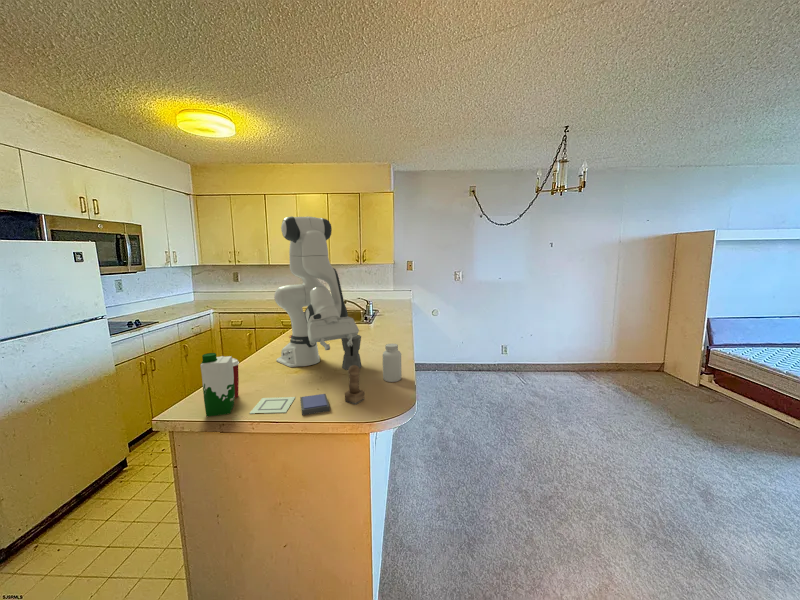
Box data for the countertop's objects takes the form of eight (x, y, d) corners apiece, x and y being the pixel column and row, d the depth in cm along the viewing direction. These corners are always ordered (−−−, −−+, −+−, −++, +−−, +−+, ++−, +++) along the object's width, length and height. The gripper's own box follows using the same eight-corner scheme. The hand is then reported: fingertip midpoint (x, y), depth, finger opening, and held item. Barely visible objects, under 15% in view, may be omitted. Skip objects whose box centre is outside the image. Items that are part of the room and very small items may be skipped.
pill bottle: (379, 379, 141) (378, 345, 139) (392, 374, 147) (391, 341, 145) (392, 384, 135) (392, 348, 133) (405, 378, 141) (405, 344, 139)
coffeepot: (342, 363, 162) (341, 327, 160) (361, 362, 163) (360, 327, 161) (341, 374, 147) (340, 335, 145) (362, 373, 148) (362, 334, 146)
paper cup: (237, 391, 129) (234, 356, 127) (244, 397, 123) (242, 361, 121) (215, 397, 123) (212, 361, 122) (221, 403, 118) (218, 365, 116)
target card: (262, 398, 122) (262, 397, 122) (295, 397, 122) (295, 396, 122) (249, 413, 110) (249, 412, 110) (285, 412, 111) (285, 411, 111)
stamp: (344, 401, 119) (343, 366, 117) (353, 396, 123) (353, 362, 122) (355, 404, 116) (354, 368, 115) (364, 399, 121) (363, 364, 119)
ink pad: (300, 401, 119) (300, 396, 119) (325, 398, 122) (325, 392, 122) (302, 415, 109) (301, 409, 108) (329, 411, 112) (329, 405, 111)
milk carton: (209, 407, 115) (204, 351, 113) (237, 403, 118) (233, 349, 115) (202, 418, 107) (197, 359, 104) (232, 414, 109) (228, 356, 107)
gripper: (350, 320, 142) (361, 347, 135) (303, 326, 131) (312, 356, 124) (354, 311, 138) (365, 339, 131) (306, 316, 127) (316, 347, 120)
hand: (339, 347), depth 128 cm, fingers open, 8 cm apart
